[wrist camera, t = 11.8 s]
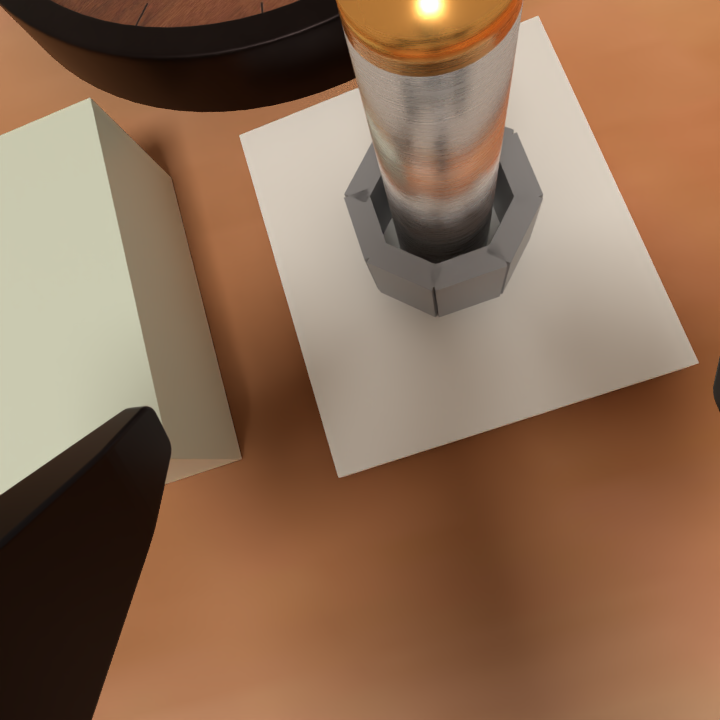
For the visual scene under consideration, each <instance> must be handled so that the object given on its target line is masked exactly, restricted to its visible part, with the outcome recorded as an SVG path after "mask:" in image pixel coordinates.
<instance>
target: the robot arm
mask: <svg viewBox="0 0 720 720" xmlns="http://www.w3.org/2000/svg"><path fill="white" fill-rule="evenodd" d="M713 394H714V399H715V402H716V404H717V407H718V409H719V411H720V358H719V363H718V367H717V372H716V376H715V381H714V386H713ZM171 451H172V448H171V443H170V440H169V437H168V436H167V434H166V432H165V430H164V428H163V426H162V424H161V422H160V420H159V418H158V416H157V414H156V412H155V411H154V409H152V408H151V407H149V406H139V407H130V408H126V409H124V410H122V411H121V412H120V413H118V414H117V415H115V416H114V417H112V418H111V419H109V420H108V421H107V422H105V423H104V424H102V425H101V426H99V427H98V428H96V429H95V430H94V431H92V432H91V433H89V434H88V435H86V436H85V437H83V438H82V439H80V440H79V441H78V442H76V443H75V444H73V445H72V446H70V447H69V448H67V449H66V450H65V451H63V452H62V453H60V454H59V455H57V456H56V457H54V458H53V459H52V460H50V461H49V462H47V463H46V464H44V465H43V466H41V467H40V468H38V469H37V470H36V471H34V472H33V473H31V474H30V475H28V476H27V477H25V478H24V479H23V480H21V481H20V482H18V483H17V484H15V485H14V486H12V487H11V488H10V489H8V490H7V491H5V492H4V493H2V494H1V495H0V720H92V718H93V715H94V712H95V709H96V706H97V703H98V700H99V697H100V694H101V691H102V688H103V685H104V682H105V679H106V676H107V673H108V670H109V667H110V664H111V661H112V658H113V655H114V652H115V649H116V646H117V643H118V640H119V637H120V634H121V631H122V628H123V625H124V622H125V619H126V616H127V613H128V610H129V607H130V604H131V601H132V598H133V595H134V592H135V589H136V586H137V583H138V580H139V577H140V574H141V571H142V568H143V565H144V562H145V559H146V556H147V553H148V550H149V547H150V544H151V541H152V537H153V534H154V530H155V526H156V522H157V518H158V514H159V509H160V504H161V500H162V495H163V491H164V486H165V481H166V477H167V472H168V468H169V463H170V458H171Z"/></svg>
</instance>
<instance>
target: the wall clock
mask: <svg viewBox="0 0 720 720" xmlns="http://www.w3.org/2000/svg"><path fill="white" fill-rule="evenodd" d="M0 6H1V7H2V8H3V9H4V10H5V11H6V12H7V13H8V14H9V15H10V16H11V17H12V18H13V19H14V20H15V21H16V22H17V23H18V24H19V25H20V26H21V27H22V28H23V29H24V30H25V31H26V32H27V33H28V34H29V35H30V36H31V37H32V38H33V39H34V40H35V41H37V42H38V43H39V44H40V45H41V46H42V47H43V48H44V49H45V50H46V51H47V52H48V53H49V54H50V55H51V56H52V57H53V58H54V59H55V60H56V61H58V62H59V63H60V64H61V65H62V66H63V67H65V68H66V69H67V70H69V71H70V72H72V73H73V74H75V75H76V76H77V77H79V78H80V79H82V80H84V81H86V82H87V83H89V84H91V85H93V86H95V87H97V88H98V89H101V90H103V91H105V92H108V93H110V94H112V95H115V96H117V97H120V98H123V99H126V100H129V101H132V102H135V103H140V104H144V105H148V106H152V107H157V108H164V109H171V110H178V111H193V112H225V111H236V110H248V109H254V108H260V107H266V106H272V105H276V104H281V103H285V102H289V101H293V100H297V99H300V98H304V97H307V96H310V95H313V94H316V93H320V92H323V91H325V90H328V89H330V88H333V87H335V86H338V85H341V84H343V83H346V82H348V81H350V80H352V79H354V78H356V76H355V72H354V69H353V65H352V61H351V57H350V53H349V49H348V45H347V42H346V38H345V34H344V30H343V26H342V22H341V19H340V15H339V11H338V7H337V3H336V0H0Z"/></svg>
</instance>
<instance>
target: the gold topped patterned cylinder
mask: <svg viewBox="0 0 720 720" xmlns="http://www.w3.org/2000/svg"><path fill="white" fill-rule="evenodd" d="M336 3H337V7H338V11H339V15H340V19H341V22H342V26H343V30H344V34H345V38H346V42H347V45H348V49H349V53H350V57H351V61H352V65H353V69H354V72H355V76H356V80H357V84H358V88H359V92H360V95H361V99H362V103H363V107H364V111H365V115H366V119H367V122H368V126H369V130H370V134H371V138H372V142H373V145H374V149H375V153H376V157H377V161H378V165H379V169H380V172H381V176H382V180H383V184H384V188H385V192H386V195H387V199H388V203H389V207H390V211H391V215H392V219H393V222H394V226H395V230H396V234H397V238H398V242H399V245H400V249H401V250H403V251H406V252H408V253H410V254H413V255H415V256H417V257H420V258H422V259H424V260H427V261H429V262H431V263H434V264H438V263H441V262H443V261H446V260H449V259H452V258H455V257H457V256H460V255H463V254H466V253H469V252H471V251H474V250H477V249H480V248H483V247H485V246H487V243H488V236H489V230H490V223H491V216H492V209H493V202H494V196H495V189H496V182H497V175H498V169H499V162H500V155H501V148H502V142H503V135H504V128H505V121H506V114H507V108H508V101H509V94H510V87H511V81H512V74H513V67H514V60H515V53H516V47H517V40H518V33H519V26H520V20H521V13H522V6H523V0H336Z"/></svg>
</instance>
